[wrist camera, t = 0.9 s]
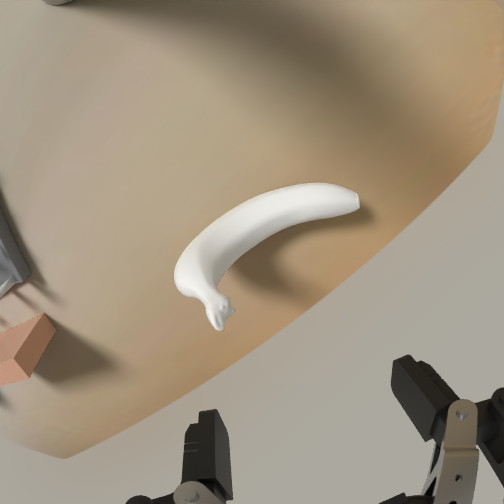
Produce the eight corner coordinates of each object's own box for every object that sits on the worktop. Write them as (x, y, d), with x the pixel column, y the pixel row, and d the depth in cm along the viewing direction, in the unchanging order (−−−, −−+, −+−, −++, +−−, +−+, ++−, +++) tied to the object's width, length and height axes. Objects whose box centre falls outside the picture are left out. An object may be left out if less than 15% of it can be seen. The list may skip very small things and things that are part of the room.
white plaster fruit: (341, 198, 33) (423, 237, 19) (192, 270, 33) (191, 356, 20) (328, 159, 31) (412, 177, 18) (171, 234, 31) (152, 304, 18)
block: (5, 351, 32) (-20, 391, 23) (-6, 336, 31) (-33, 375, 22) (56, 329, 33) (29, 378, 23) (44, 312, 32) (13, 358, 22)
